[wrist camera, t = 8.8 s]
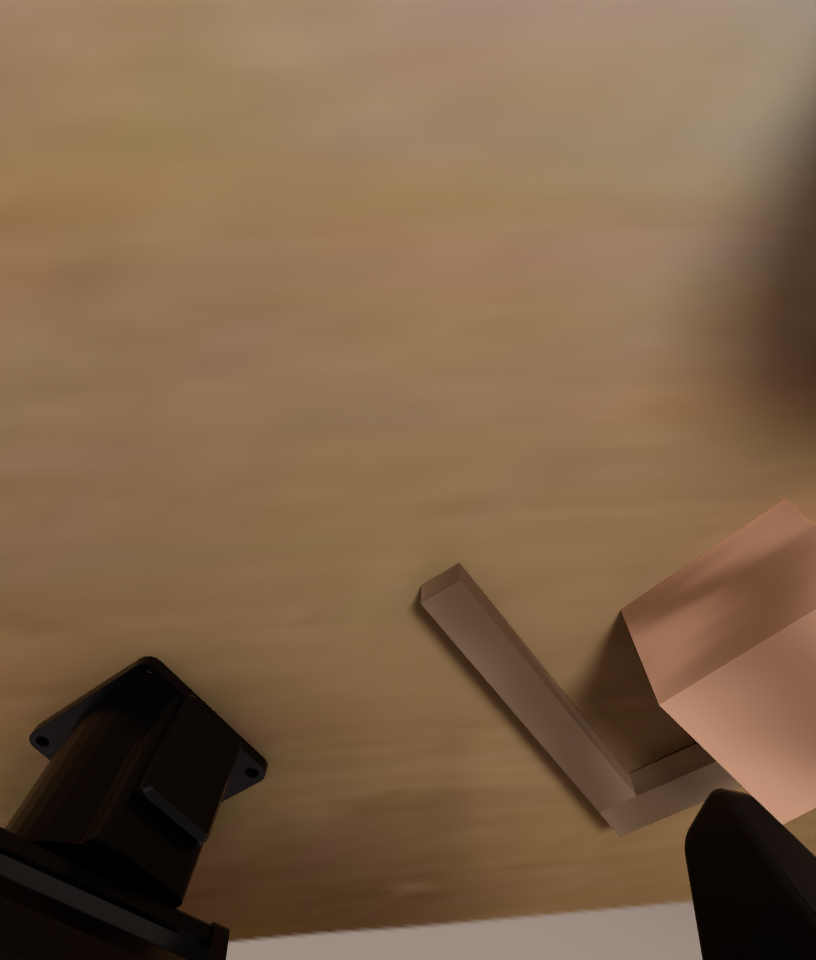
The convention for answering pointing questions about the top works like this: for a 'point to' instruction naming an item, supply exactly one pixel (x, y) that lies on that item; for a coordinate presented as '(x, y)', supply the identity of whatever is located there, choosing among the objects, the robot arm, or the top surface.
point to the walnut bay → (566, 715)
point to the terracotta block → (742, 655)
